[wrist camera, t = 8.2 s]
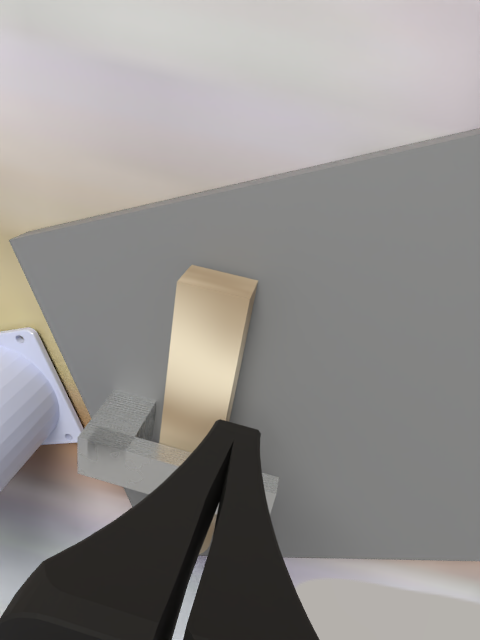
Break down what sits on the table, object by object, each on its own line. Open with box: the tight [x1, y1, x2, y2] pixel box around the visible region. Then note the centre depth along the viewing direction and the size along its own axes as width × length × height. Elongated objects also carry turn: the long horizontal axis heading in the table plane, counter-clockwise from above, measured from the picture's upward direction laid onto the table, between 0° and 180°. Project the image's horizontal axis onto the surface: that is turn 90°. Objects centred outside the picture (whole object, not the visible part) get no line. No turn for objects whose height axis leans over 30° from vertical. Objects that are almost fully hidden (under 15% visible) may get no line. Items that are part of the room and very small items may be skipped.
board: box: [9, 128, 480, 561], centre depth 23 cm, size 22×22×2 cm
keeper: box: [77, 390, 279, 514], centre depth 23 cm, size 10×2×4 cm, turn 80°
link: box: [159, 265, 258, 554], centre depth 22 cm, size 17×4×3 cm, turn 170°
